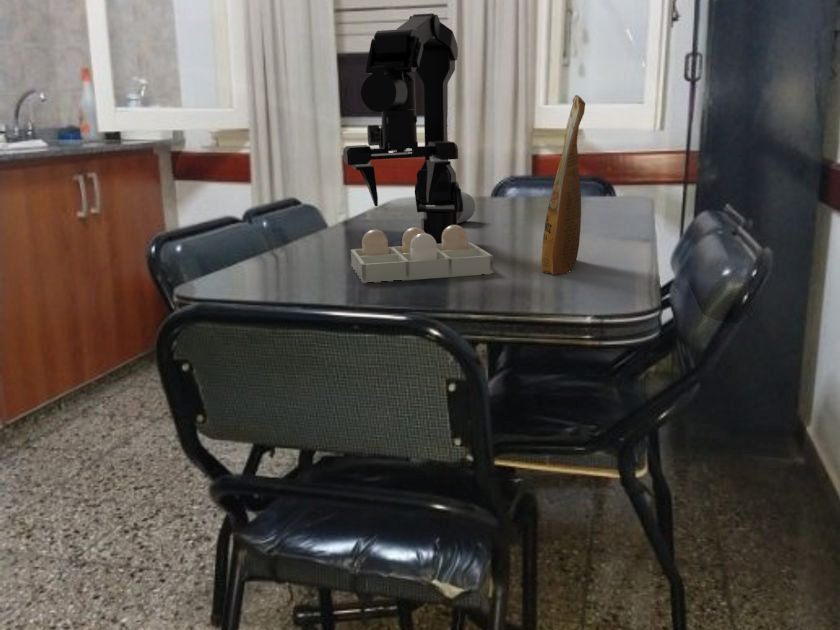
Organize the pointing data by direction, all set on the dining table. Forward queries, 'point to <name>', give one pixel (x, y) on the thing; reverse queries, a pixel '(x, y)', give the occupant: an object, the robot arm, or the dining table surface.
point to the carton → (397, 265)
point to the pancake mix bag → (565, 203)
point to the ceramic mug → (464, 208)
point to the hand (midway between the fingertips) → (402, 204)
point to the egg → (423, 247)
